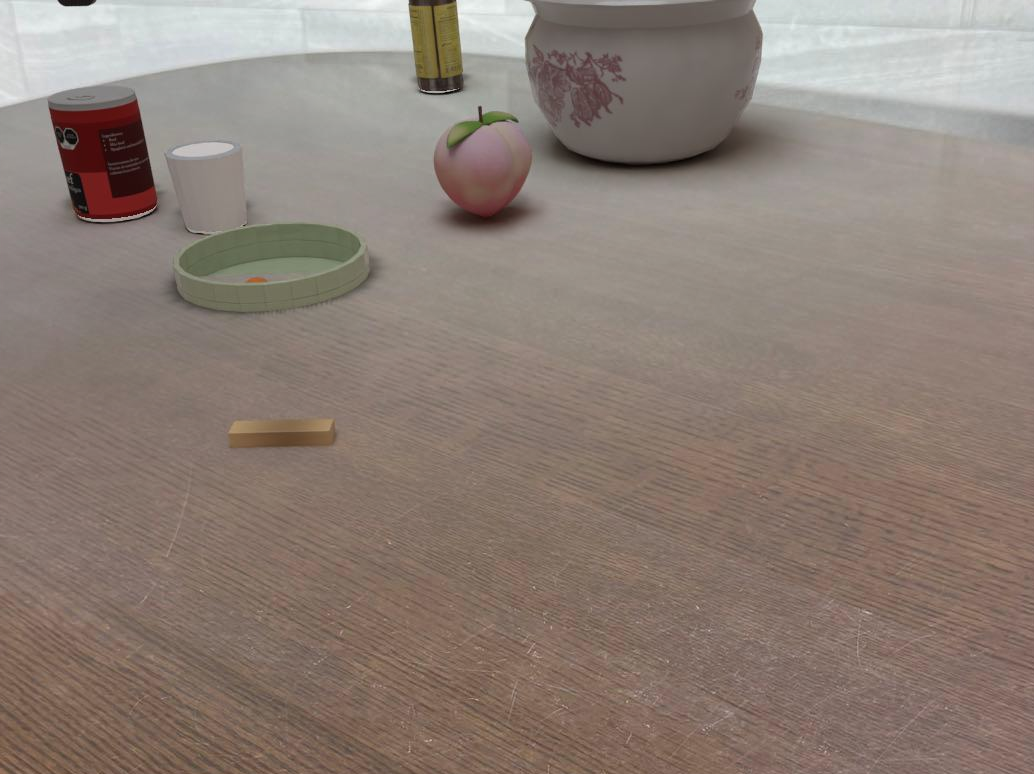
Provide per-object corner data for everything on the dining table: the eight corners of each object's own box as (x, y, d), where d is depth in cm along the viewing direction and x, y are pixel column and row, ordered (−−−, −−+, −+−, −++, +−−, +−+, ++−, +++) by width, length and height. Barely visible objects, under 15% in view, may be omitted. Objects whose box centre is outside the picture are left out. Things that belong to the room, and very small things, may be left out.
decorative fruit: (473, 198, 117) (466, 91, 111) (546, 208, 113) (543, 98, 108) (418, 226, 110) (408, 113, 105) (494, 238, 106) (487, 121, 101)
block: (234, 468, 72) (227, 432, 70) (240, 456, 73) (234, 420, 72) (334, 466, 71) (329, 430, 70) (338, 453, 73) (333, 418, 71)
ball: (255, 280, 90) (238, 272, 91) (249, 312, 90) (232, 303, 92) (282, 283, 91) (265, 274, 93) (276, 314, 92) (259, 305, 94)
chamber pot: (744, 192, 115) (757, -47, 104) (478, 176, 123) (464, -47, 112) (789, 123, 138) (804, -80, 127) (561, 113, 146) (557, -78, 135)
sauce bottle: (464, 83, 162) (454, -82, 151) (463, 94, 157) (452, -77, 146) (417, 85, 162) (403, -80, 151) (414, 96, 157) (399, -75, 146)
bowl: (158, 331, 90) (148, 287, 88) (208, 264, 103) (200, 224, 101) (356, 327, 90) (351, 282, 88) (382, 259, 103) (378, 219, 101)
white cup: (265, 226, 112) (253, 149, 108) (194, 241, 108) (179, 163, 105) (237, 209, 116) (224, 135, 113) (168, 223, 113) (153, 147, 110)
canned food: (83, 203, 120) (56, 87, 114) (165, 198, 121) (142, 83, 115) (66, 226, 113) (36, 105, 108) (152, 221, 114) (127, 100, 108)
